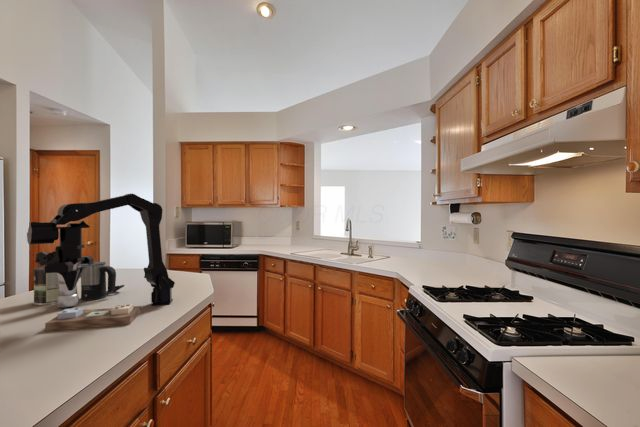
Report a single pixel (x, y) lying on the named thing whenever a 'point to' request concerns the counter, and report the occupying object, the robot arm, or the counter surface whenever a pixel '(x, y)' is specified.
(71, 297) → the plastic bottle
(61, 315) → the tile
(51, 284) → the coffee can
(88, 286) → the milk frother
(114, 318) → the board
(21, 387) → the counter surface
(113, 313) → the tile
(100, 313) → the tile
